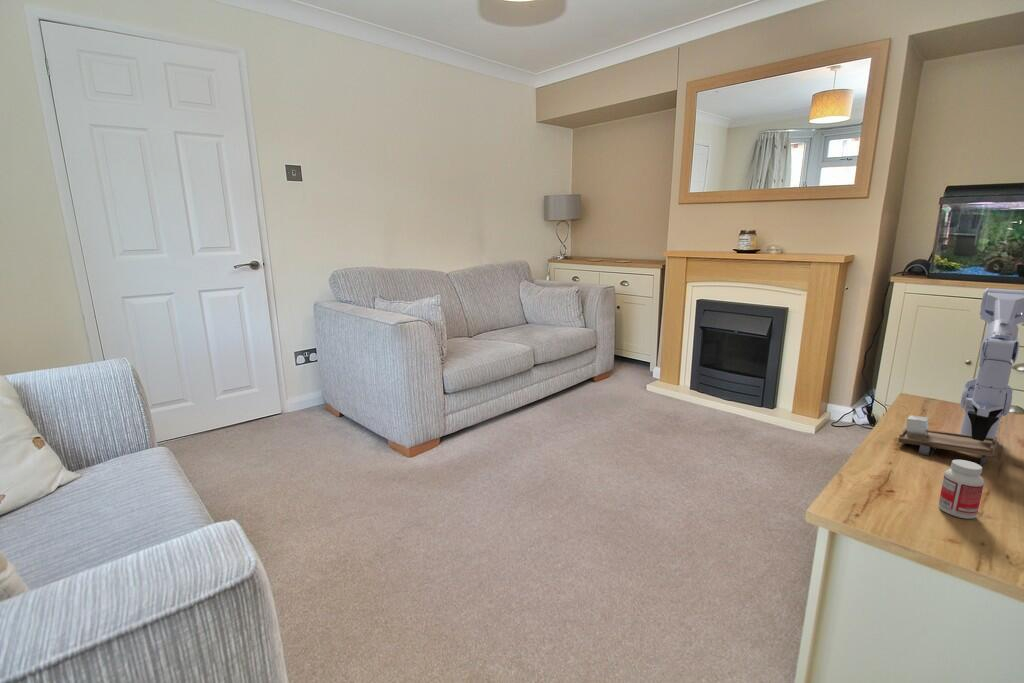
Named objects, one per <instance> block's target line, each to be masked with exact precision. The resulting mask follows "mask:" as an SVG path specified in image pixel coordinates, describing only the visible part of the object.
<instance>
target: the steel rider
mask: <svg viewBox="0 0 1024 683" xmlns="http://www.w3.org/2000/svg"><path fill="white" fill-rule="evenodd" d="M906 427H907V436H910V437H917V438H924V439H926V437H927V436H928V430H929V417H928V416H921V415H920V416H919V415H909V416H908V417H907V418H906Z"/></svg>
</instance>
